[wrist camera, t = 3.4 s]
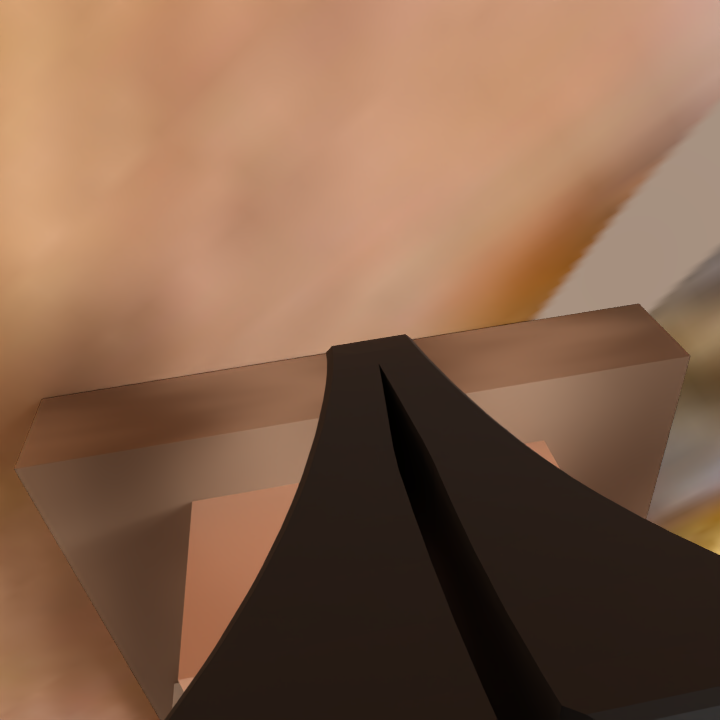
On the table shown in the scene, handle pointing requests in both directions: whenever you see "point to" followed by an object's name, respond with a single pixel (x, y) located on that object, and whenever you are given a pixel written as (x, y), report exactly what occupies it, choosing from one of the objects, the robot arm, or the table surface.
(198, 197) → the table surface
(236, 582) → the terracotta carton
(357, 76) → the table surface
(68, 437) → the brown piece
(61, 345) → the table surface
